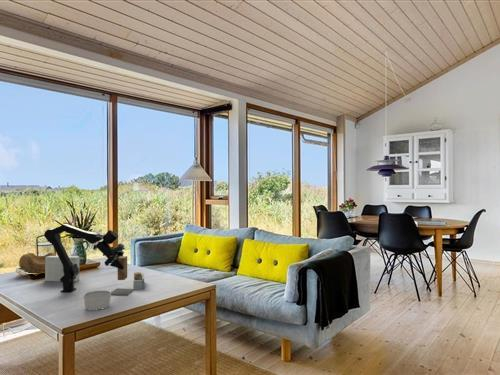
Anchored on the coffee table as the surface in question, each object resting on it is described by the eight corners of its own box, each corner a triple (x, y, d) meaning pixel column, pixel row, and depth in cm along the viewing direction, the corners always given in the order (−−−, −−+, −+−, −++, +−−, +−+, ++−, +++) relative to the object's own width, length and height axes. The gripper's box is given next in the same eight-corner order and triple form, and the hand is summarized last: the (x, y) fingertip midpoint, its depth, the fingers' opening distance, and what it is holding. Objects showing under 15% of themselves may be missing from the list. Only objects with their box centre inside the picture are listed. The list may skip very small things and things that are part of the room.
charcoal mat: (127, 295, 207) (127, 294, 207) (108, 295, 208) (108, 294, 208) (134, 289, 218) (134, 288, 218) (117, 289, 219) (117, 288, 219)
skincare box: (80, 279, 239) (80, 256, 239) (75, 282, 234) (75, 257, 234) (49, 278, 241) (49, 255, 241) (44, 281, 236) (44, 256, 236)
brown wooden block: (117, 280, 213) (117, 258, 213) (120, 277, 219) (120, 256, 219) (124, 280, 214) (124, 258, 213) (127, 277, 219) (127, 256, 219)
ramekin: (114, 302, 195) (114, 290, 195) (105, 311, 182) (105, 298, 182) (89, 303, 194) (89, 290, 194) (79, 311, 181) (78, 298, 181)
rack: (133, 289, 219) (133, 279, 219) (134, 282, 233) (134, 273, 233) (144, 288, 221) (144, 278, 221) (144, 282, 235) (144, 272, 235)
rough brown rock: (21, 280, 239) (22, 258, 238) (17, 273, 251) (18, 252, 250) (60, 276, 254) (61, 255, 253) (54, 269, 267) (55, 250, 266)
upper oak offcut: (134, 280, 224) (134, 274, 224) (134, 278, 228) (134, 272, 228) (141, 279, 226) (141, 273, 226) (140, 278, 229) (140, 271, 229)
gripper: (110, 242, 206) (129, 261, 207) (120, 237, 225) (138, 255, 225) (96, 256, 206) (115, 275, 207) (108, 250, 225) (126, 267, 225)
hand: (124, 267), depth 216 cm, fingers closed on brown wooden block, 5 cm apart
